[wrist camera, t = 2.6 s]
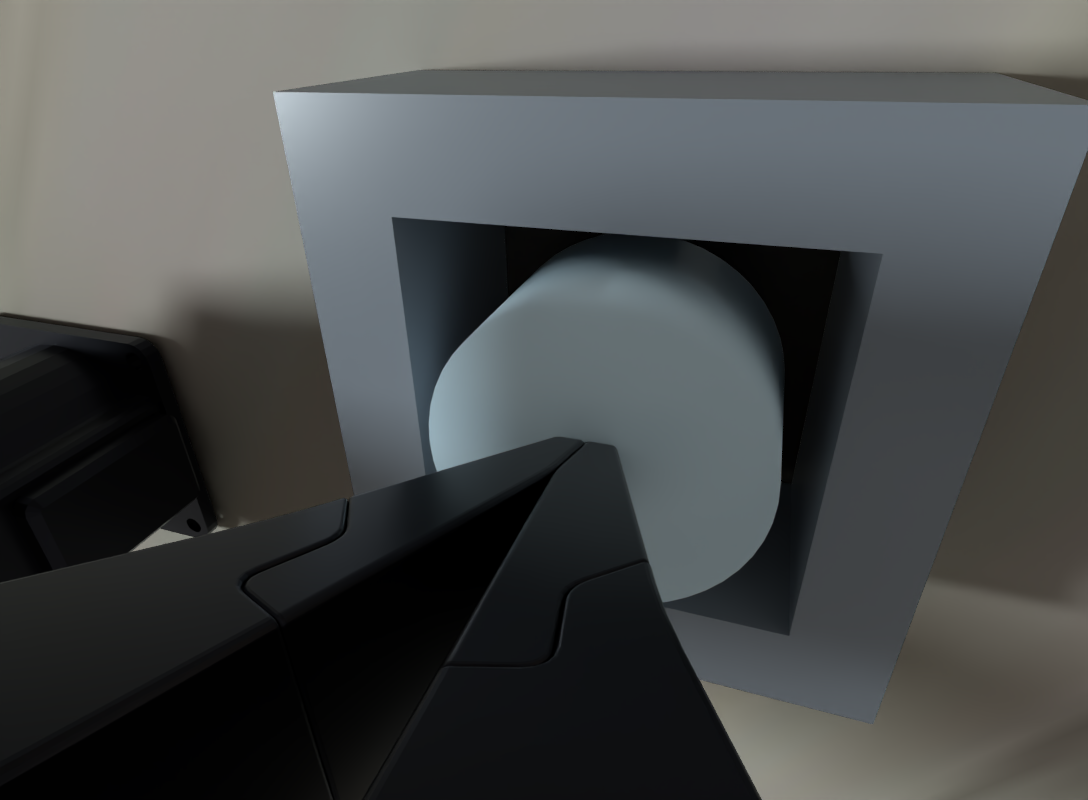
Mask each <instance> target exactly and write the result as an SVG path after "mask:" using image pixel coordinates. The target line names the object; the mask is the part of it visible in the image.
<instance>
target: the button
mask: <svg viewBox="0 0 1088 800" xmlns="http://www.w3.org/2000/svg"><path fill="white" fill-rule="evenodd" d="M784 383H785V366H784V353H783V348H782V343H781V338H780V335H779V333H778V330H777V327H776V324H775V322H774V319H773V317H772V316H771V314H770V312H769V310H768V308H767V306H766V304H765V303H764V301H763V300H762V299H761V297H760V296H759V295H758V293H757V292H756V290H755V289H754V288H753V286H752V285H751V284H750V283H749V282H748V281H747V280H746V279H745V278H744V277H743V276H742V275H741V274H740V273H739V272H738V271H736V270H735V269H734V268H733V267H731V266H730V265H729V264H727V263H726V262H725V261H724V260H722V259H721V258H719V257H717V256H715V255H714V254H712V253H710V252H709V251H707V250H705V249H703V248H701V247H699V246H696V245H694V244H691V243H689V242H687V241H684V240H681V239H677V238H665V237H652V236H638V235H625V234H605V235H601V236H597V237H593V238H590V239H586V240H583V241H581V242H579V243H576V244H574V245H572V246H569V247H567V248H566V249H564V250H562V251H561V252H559V253H557V254H556V255H554V256H553V257H552V258H550V259H549V260H548V261H547V262H545V263H544V264H543V265H542V266H541V267H539V268H538V269H537V270H536V271H535V272H534V273H533V274H532V275H531V276H530V277H529V278H528V279H527V280H526V281H525V282H524V283H523V284H522V285H521V286H520V287H519V288H518V289H517V290H516V291H515V292H514V293H513V294H512V295H511V296H510V297H509V298H508V299H507V300H506V301H505V302H504V303H503V304H502V305H501V306H500V307H499V308H498V309H497V310H496V311H495V312H494V313H493V314H492V315H490V316H489V317H488V318H487V319H486V320H485V321H484V322H483V323H482V324H481V325H480V326H479V327H478V328H477V329H476V330H475V331H474V332H473V333H472V334H471V335H470V336H469V337H468V338H467V339H466V340H465V341H464V342H463V343H462V344H461V346H460V347H459V348H458V349H457V350H456V351H455V352H454V353H453V354H452V356H451V357H450V359H449V361H448V362H447V364H446V365H445V367H444V368H443V370H442V372H441V374H440V377H439V379H438V381H437V384H436V386H435V389H434V393H433V397H432V401H431V405H430V415H429V439H430V446H431V451H432V456H433V461H434V464H435V467H436V470H437V471H441V470H444V469H448V468H451V467H454V466H458V465H461V464H465V463H468V462H471V461H475V460H478V459H481V458H485V457H488V456H492V455H495V454H498V453H502V452H505V451H509V450H512V449H515V448H519V447H522V446H526V445H529V444H532V443H536V442H539V441H542V440H546V439H549V438H553V437H566V438H572V439H578V440H582V441H583V442H584V443H585V444H586V443H587V442H596V443H602V444H608V445H613V446H615V447H616V448H617V450H618V454H619V457H620V461H621V464H622V468H623V472H624V475H625V479H626V482H627V486H628V489H629V493H630V496H631V500H632V503H633V507H634V510H635V514H636V517H637V521H638V525H639V528H640V532H641V535H642V539H643V542H644V546H645V549H646V553H647V556H648V560H649V564H650V565H651V568H652V571H653V575H654V578H655V581H656V585H657V588H658V591H659V593H660V596H661V599H662V602H669V601H673V600H678V599H682V598H686V597H689V596H692V595H695V594H698V593H700V592H703V591H706V590H708V589H710V588H712V587H713V586H715V585H717V584H719V583H721V582H723V581H724V580H726V579H727V578H729V577H730V576H731V575H733V574H734V573H735V572H737V571H738V570H739V569H740V568H741V567H742V566H744V565H745V564H746V563H747V562H748V561H749V560H750V559H751V558H752V557H753V555H754V554H755V553H756V551H757V550H758V548H759V547H760V546H761V544H762V543H763V542H764V540H765V538H766V536H767V534H768V532H769V530H770V528H771V526H772V524H773V521H774V517H775V514H776V511H777V507H778V503H779V495H780V486H781V464H782V437H783V410H784Z"/></svg>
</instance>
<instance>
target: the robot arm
mask: <svg viewBox="0 0 1088 800" xmlns="http://www.w3.org/2000/svg"><path fill="white" fill-rule="evenodd" d="M216 527H217V519H216V516H215V513H214V510H213V507H212V504H211V501H210V499H209V496H208V493H207V490H206V487H205V484H204V481H203V478H202V475H201V472H200V469H199V466H198V463H197V460H196V457H195V454H194V451H193V449H192V446H191V443H190V440H189V437H188V434H187V431H186V428H185V425H184V422H183V419H182V416H181V413H180V410H179V407H178V404H177V401H176V398H175V396H174V393H173V390H172V387H171V384H170V381H169V378H168V375H167V372H166V369H165V366H164V363H163V360H162V357H161V355H160V353H159V351H158V350H157V349H156V347H155V346H154V345H153V344H152V343H150V342H149V341H148V340H146V339H143V338H140V337H134V336H127V335H120V334H114V333H107V332H101V331H94V330H87V329H81V328H74V327H68V326H61V325H54V324H48V323H41V322H34V321H28V320H21V319H15V318H8V317H1V316H0V800H762V799H761V797H760V795H759V793H758V792H757V790H756V788H755V786H754V784H753V782H752V780H751V778H750V776H749V774H748V772H747V770H746V769H745V767H744V765H743V763H742V761H741V759H740V757H739V755H738V753H737V751H736V749H735V747H734V746H733V744H732V742H731V740H730V738H729V736H728V734H727V732H726V730H725V728H724V726H723V724H722V723H721V721H720V719H719V717H718V715H717V713H716V711H715V709H714V707H713V705H712V703H711V701H710V700H709V698H708V696H707V694H706V692H705V690H704V688H703V686H702V684H701V682H700V680H699V678H698V677H697V675H696V673H695V671H694V669H693V667H692V665H691V663H690V661H689V659H688V657H687V655H686V654H685V652H684V650H683V648H682V646H681V643H680V641H679V639H678V637H677V635H676V633H675V631H674V628H673V626H672V624H671V622H670V620H669V618H668V616H667V613H666V610H665V608H664V605H663V602H662V599H661V596H660V593H659V591H658V588H657V585H656V581H655V578H654V575H653V571H652V568H651V565H650V564H649V560H648V556H647V553H646V549H645V546H644V542H643V539H642V535H641V532H640V528H639V525H638V521H637V517H636V514H635V510H634V507H633V503H632V500H631V496H630V493H629V489H628V486H627V482H626V479H625V475H624V472H623V468H622V464H621V461H620V457H619V454H618V450H617V448H616V447H615V446H613V445H608V444H602V443H596V442H587V443H586V444H585V443H584V442H583V441H582V440H578V439H572V438H566V437H553V438H549V439H546V440H542V441H539V442H536V443H532V444H529V445H526V446H522V447H519V448H515V449H512V450H509V451H505V452H502V453H498V454H495V455H492V456H488V457H485V458H481V459H478V460H475V461H471V462H468V463H465V464H461V465H458V466H454V467H451V468H448V469H444V470H441V471H437V472H434V473H431V474H427V475H424V476H421V477H417V478H414V479H410V480H407V481H404V482H400V483H397V484H393V485H390V486H387V487H383V488H380V489H377V490H373V491H370V492H366V493H363V494H360V495H356V496H353V497H350V498H349V502H348V500H347V499H345V498H342V499H339V500H335V501H332V502H329V503H325V504H322V505H318V506H315V507H311V508H308V509H304V510H300V511H297V512H293V513H289V514H286V515H282V516H279V517H275V518H271V519H267V520H263V521H259V522H255V523H251V524H247V525H243V526H239V527H235V528H231V529H227V530H223V531H219V532H215V533H211V532H212V531H214V530H215V529H216ZM160 528H161V529H165V530H168V531H172V532H176V533H180V534H184V535H188V536H192V537H193V538H189V539H185V540H180V541H176V542H172V543H168V544H163V545H159V546H155V547H151V548H146V549H142V550H138V551H133V550H134V549H135V548H136V547H137V546H139V545H140V544H141V543H142V542H144V541H145V540H146V539H147V538H149V537H150V536H151V535H152V534H154V533H155V532H156V531H157V530H159V529H160ZM131 551H133V552H131Z"/></svg>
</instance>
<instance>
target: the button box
mask: <svg viewBox="0 0 1088 800" xmlns="http://www.w3.org/2000/svg"><path fill="white" fill-rule="evenodd" d="M273 95H274V100H275V105H276V110H277V115H278V120H279V125H280V130H281V134H282V139H283V144H284V149H285V154H286V159H287V164H288V169H289V174H290V179H291V184H292V189H293V194H294V199H295V204H296V209H297V214H298V219H299V224H300V229H301V234H302V239H303V244H304V249H305V254H306V259H307V264H308V269H309V274H310V279H311V284H312V289H313V293H314V298H315V303H316V308H317V313H318V318H319V323H320V328H321V333H322V338H323V343H324V348H325V353H326V358H327V363H328V368H329V373H330V378H331V383H332V388H333V393H334V398H335V403H336V408H337V413H338V418H339V423H340V428H341V433H342V438H343V443H344V448H345V453H346V457H347V462H348V467H349V472H350V477H351V482H352V487H353V492H354V496H356V495H360V494H363V493H366V492H370V491H373V490H377V489H380V488H383V487H387V486H390V485H393V484H397V483H400V482H404V481H407V480H410V479H414V478H417V477H421V476H424V475H427V474H431V473H434V472H437V470H436V467H435V464H434V461H433V456H432V451H431V446H430V439H429V415H430V405H431V401H432V397H433V393H434V389H435V386H436V384H437V381H438V379H439V377H440V374H441V372H442V370H443V368H444V367H445V365H446V364H447V362H448V361H449V359H450V357H451V356H452V354H453V353H454V352H455V351H456V350H457V349H458V348H459V347H460V346H461V344H462V343H463V342H464V341H465V340H466V339H467V338H468V337H469V336H470V335H471V334H472V333H473V332H474V331H475V330H476V329H477V328H478V327H479V326H480V325H481V324H482V323H483V322H484V321H485V320H486V319H487V318H488V317H489V316H490V315H492V314H493V313H494V312H495V311H496V310H497V309H498V308H499V307H500V306H501V305H502V304H503V303H504V302H505V301H506V300H507V299H508V287H507V266H506V244H505V226H518V227H532V228H545V229H558V230H572V231H585V232H598V233H612V234H625V235H638V236H652V237H665V238H678V239H692V240H705V241H718V242H732V243H745V244H758V245H772V246H785V247H798V248H811V249H825V250H838V251H841V253H840V258H839V262H838V267H837V272H836V276H835V281H834V286H833V290H832V295H831V300H830V305H829V309H828V314H827V319H826V323H825V328H824V333H823V338H822V342H821V347H820V352H819V356H818V361H817V366H816V370H815V375H814V380H813V385H812V389H811V394H810V399H809V403H808V408H807V413H806V418H805V422H804V427H803V432H802V436H801V441H800V446H799V450H798V455H797V460H796V465H795V469H794V474H793V479H792V483H791V484H789V483H783V482H781V486H780V495H779V503H778V507H777V511H776V514H775V517H774V521H773V524H772V526H771V528H770V530H769V532H768V534H767V536H766V538H765V540H764V542H763V543H762V544H761V546H760V547H759V548H758V550H757V551H756V553H755V554H754V555H753V557H752V558H751V559H750V560H749V561H748V562H747V563H746V564H745V565H744V566H742V567H741V568H740V569H739V570H738V571H737V572H735V573H734V574H733V575H731V576H730V577H729V578H727V579H726V580H724V581H723V582H721V583H719V584H717V585H715V586H713V587H712V588H710V589H708V590H706V591H703V592H700V593H698V594H695V595H692V596H689V597H686V598H682V599H678V600H673V601H669V602H663V605H664V608H665V610H666V613H667V616H668V618H669V620H670V622H671V624H672V626H673V628H674V631H675V633H676V635H677V637H678V639H679V641H680V643H681V646H682V648H683V650H684V652H685V654H686V655H687V657H688V659H689V661H690V663H691V665H692V667H693V669H694V671H695V673H696V675H697V677H698V678H699V680H703V681H707V682H711V683H715V684H719V685H723V686H727V687H730V688H734V689H738V690H742V691H746V692H750V693H754V694H757V695H761V696H765V697H769V698H773V699H777V700H781V701H785V702H788V703H792V704H796V705H800V706H804V707H808V708H812V709H815V710H819V711H823V712H827V713H831V714H835V715H839V716H842V717H846V718H850V719H854V720H858V721H862V722H866V723H870V724H873V723H874V720H875V718H876V715H877V712H878V710H879V707H880V704H881V702H882V699H883V696H884V694H885V691H886V688H887V686H888V683H889V680H890V677H891V675H892V672H893V669H894V667H895V664H896V661H897V659H898V656H899V653H900V651H901V648H902V645H903V643H904V640H905V637H906V635H907V632H908V629H909V627H910V624H911V621H912V619H913V616H914V613H915V611H916V608H917V605H918V603H919V600H920V597H921V595H922V592H923V589H924V587H925V584H926V581H927V579H928V576H929V573H930V571H931V568H932V565H933V562H934V560H935V557H936V554H937V552H938V549H939V546H940V544H941V541H942V538H943V536H944V533H945V530H946V528H947V525H948V522H949V520H950V517H951V514H952V512H953V509H954V506H955V504H956V501H957V498H958V496H959V493H960V490H961V488H962V485H963V482H964V480H965V477H966V474H967V472H968V469H969V466H970V464H971V461H972V458H973V456H974V453H975V450H976V447H977V445H978V442H979V439H980V437H981V434H982V431H983V429H984V426H985V423H986V421H987V418H988V415H989V413H990V410H991V407H992V405H993V402H994V399H995V397H996V394H997V391H998V389H999V386H1000V383H1001V381H1002V378H1003V375H1004V373H1005V370H1006V367H1007V365H1008V362H1009V359H1010V357H1011V354H1012V351H1013V349H1014V346H1015V343H1016V341H1017V338H1018V335H1019V333H1020V330H1021V327H1022V324H1023V322H1024V319H1025V316H1026V314H1027V311H1028V308H1029V306H1030V303H1031V300H1032V298H1033V295H1034V292H1035V290H1036V287H1037V284H1038V282H1039V279H1040V276H1041V274H1042V271H1043V268H1044V266H1045V263H1046V260H1047V258H1048V255H1049V252H1050V250H1051V247H1052V244H1053V242H1054V239H1055V236H1056V234H1057V231H1058V228H1059V226H1060V223H1061V220H1062V218H1063V215H1064V212H1065V209H1066V207H1067V204H1068V201H1069V199H1070V196H1071V193H1072V191H1073V188H1074V185H1075V183H1076V180H1077V177H1078V175H1079V172H1080V169H1081V167H1082V164H1083V161H1084V159H1085V156H1086V153H1087V151H1088V100H1085V99H1082V98H1079V97H1075V96H1072V95H1069V94H1065V93H1062V92H1059V91H1055V90H1052V89H1049V88H1045V87H1042V86H1039V85H1035V84H1032V83H1029V82H1025V81H1022V80H1019V79H1015V78H1012V77H1009V76H1005V75H1002V74H998V73H944V72H724V71H504V70H417V71H410V72H403V73H396V74H390V75H383V76H376V77H370V78H363V79H356V80H350V81H343V82H336V83H330V84H323V85H316V86H309V87H303V88H296V89H289V90H283V91H276V92H273Z"/></svg>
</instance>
